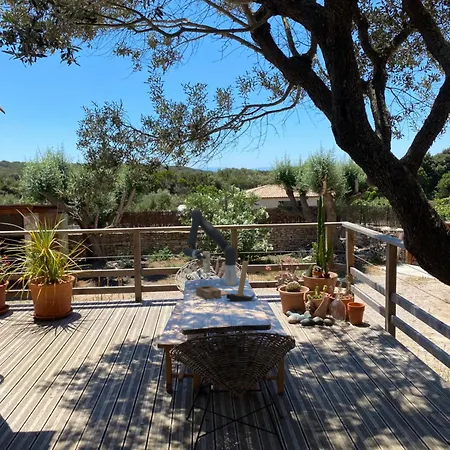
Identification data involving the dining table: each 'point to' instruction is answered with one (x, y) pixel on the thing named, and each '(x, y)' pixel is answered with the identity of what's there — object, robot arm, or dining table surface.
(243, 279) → the hammer
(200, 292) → the walnut toolbox
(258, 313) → the dining table surface
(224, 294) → the terracotta tile
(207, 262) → the maple key
